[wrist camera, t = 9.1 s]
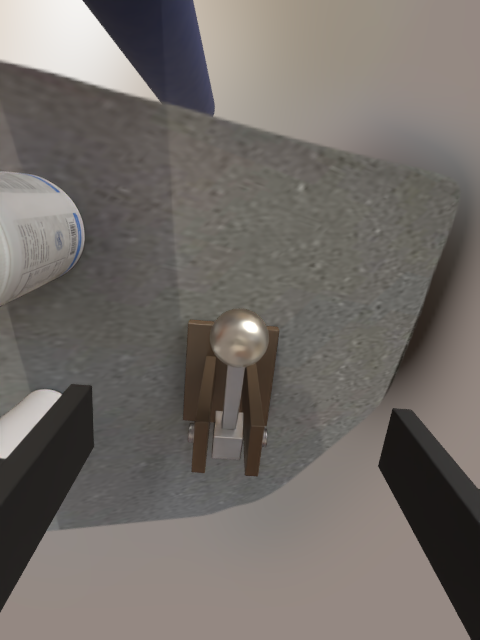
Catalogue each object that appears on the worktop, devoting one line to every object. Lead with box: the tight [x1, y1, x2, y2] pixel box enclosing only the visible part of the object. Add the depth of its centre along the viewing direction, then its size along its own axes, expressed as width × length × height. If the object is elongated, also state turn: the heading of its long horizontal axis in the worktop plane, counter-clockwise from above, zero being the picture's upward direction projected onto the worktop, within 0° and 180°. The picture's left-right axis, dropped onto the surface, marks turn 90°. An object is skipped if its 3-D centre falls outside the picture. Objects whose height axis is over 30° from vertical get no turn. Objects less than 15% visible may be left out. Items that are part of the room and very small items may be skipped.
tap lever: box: [210, 308, 269, 460], centre depth 26 cm, size 13×4×4 cm, turn 175°
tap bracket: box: [183, 320, 279, 476], centre depth 33 cm, size 11×9×13 cm
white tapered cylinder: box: [0, 389, 62, 459], centre depth 33 cm, size 7×7×15 cm
